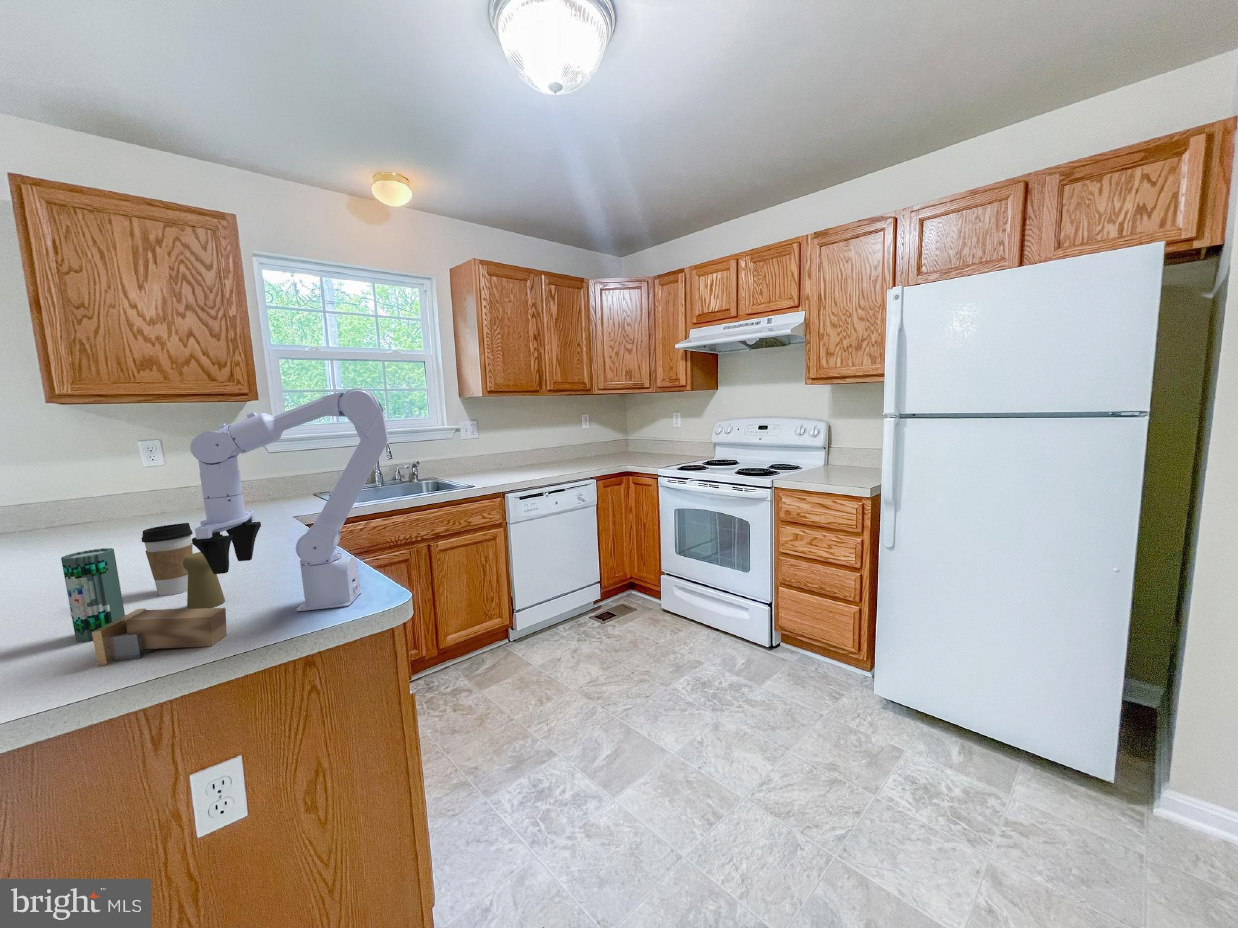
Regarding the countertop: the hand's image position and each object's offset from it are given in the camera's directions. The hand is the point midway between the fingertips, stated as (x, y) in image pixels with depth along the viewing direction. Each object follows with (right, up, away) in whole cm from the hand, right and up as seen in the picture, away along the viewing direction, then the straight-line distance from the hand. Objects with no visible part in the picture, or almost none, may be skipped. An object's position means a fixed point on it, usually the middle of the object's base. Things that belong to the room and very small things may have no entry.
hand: (233, 566), depth 92 cm
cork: (-12, -10, +8) cm, 17 cm away
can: (-21, -12, -4) cm, 24 cm away
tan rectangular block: (-1, -11, -10) cm, 15 cm away
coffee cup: (-27, -9, +18) cm, 33 cm away
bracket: (-8, -12, -11) cm, 18 cm away
